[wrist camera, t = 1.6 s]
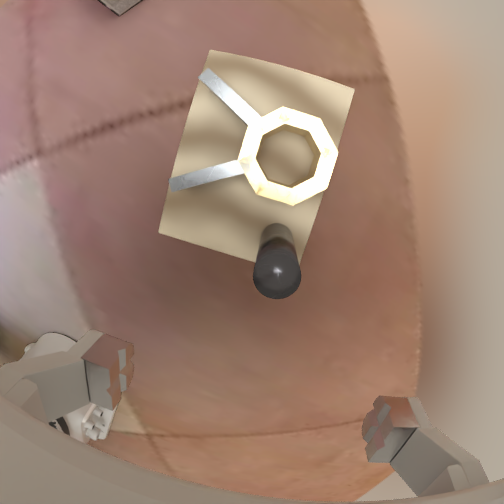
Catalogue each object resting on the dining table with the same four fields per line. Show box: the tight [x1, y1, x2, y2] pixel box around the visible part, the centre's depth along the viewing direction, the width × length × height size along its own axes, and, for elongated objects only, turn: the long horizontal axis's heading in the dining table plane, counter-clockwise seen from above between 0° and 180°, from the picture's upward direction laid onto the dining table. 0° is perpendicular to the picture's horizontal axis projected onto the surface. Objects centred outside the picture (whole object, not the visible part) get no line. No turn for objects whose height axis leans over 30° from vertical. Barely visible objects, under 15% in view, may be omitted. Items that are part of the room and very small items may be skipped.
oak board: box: [158, 50, 355, 264], centre depth 30 cm, size 20×15×2 cm
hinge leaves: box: [168, 68, 338, 205], centre depth 27 cm, size 11×13×5 cm
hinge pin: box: [253, 223, 301, 299], centre depth 26 cm, size 3×3×11 cm
